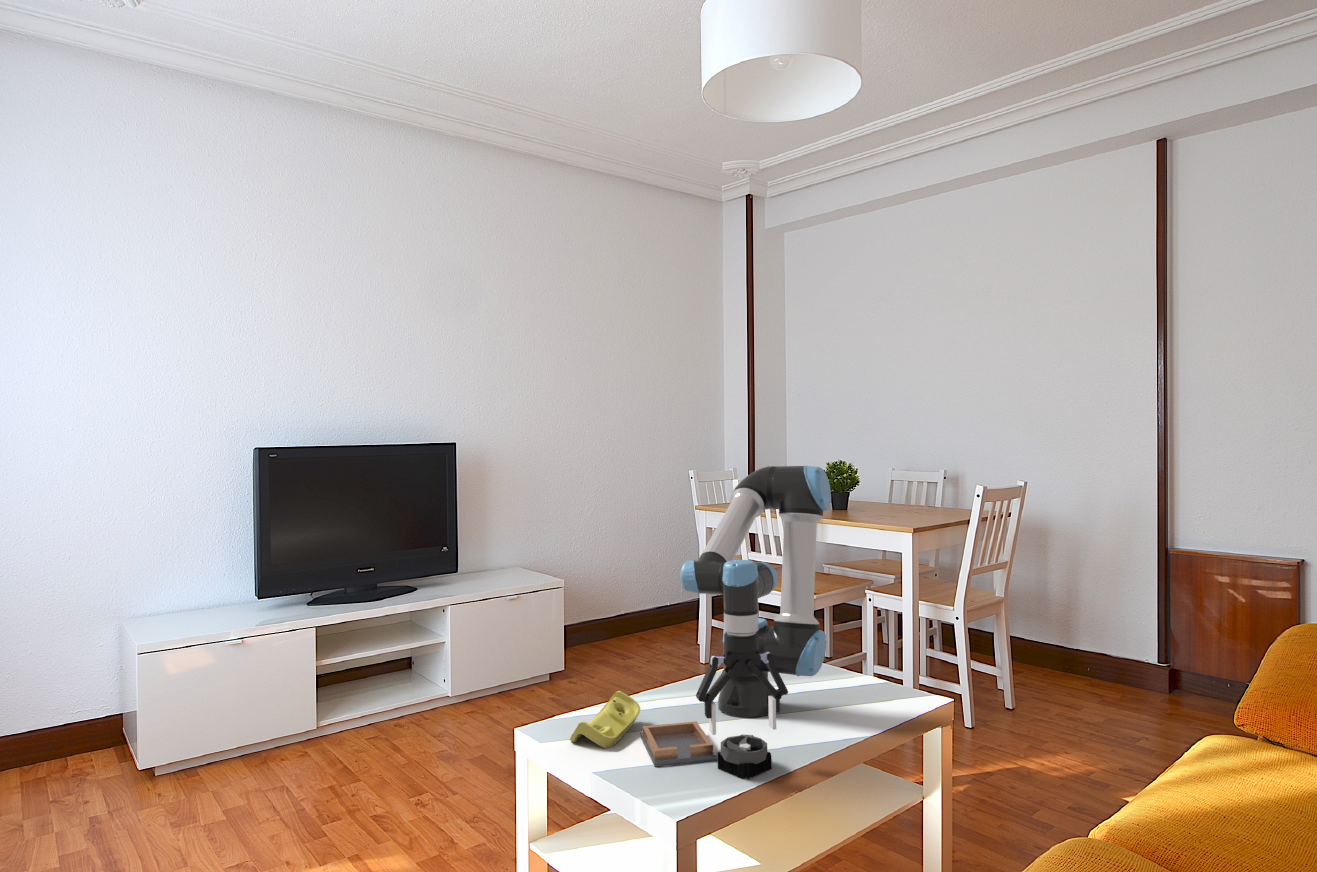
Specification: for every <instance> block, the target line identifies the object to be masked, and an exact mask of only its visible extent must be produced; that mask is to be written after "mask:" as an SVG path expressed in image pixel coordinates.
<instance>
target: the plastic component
mask: <svg viewBox="0 0 1317 872" xmlns="http://www.w3.org/2000/svg"><path fill="white" fill-rule="evenodd" d="M640 714H641V706H640V704H639V703H638V701H636V700H635V699H634V698H633V697H631V696H630V695H628V694H626V693H625V692H624V691H621V690H617V691H616V692H614V693H613V694H612V696H611V697H610V698H609V700H608V701H607V703H605V705H604V706H603V707H602V708H601V710H600V711H599V712H598V713H597V714H596V715H595V716H594V718H592V719H591V720H590V721H589V722H586V721H581V722H579V723H578V725H577V726H576V728H575V729H574V731H573V733H572V734H571V736H570V738H569V741H571V742H572V743H575V742H576V741H578V740H579V739H580V738H581V737H582V736H585V738H587V739H589V740H590V741H592V742H593V743H595V744H596V745H598V746H599V747H601V748H605V749H610V748H611V747H613V746H614V745H615V744H616V743H617V742H618V741H619V740H620V739H622V737H623V736H624V735H625V734H626V733H628V731H629V730H630V728H631V727H632V725H633V724H634V723H635V722H636V720H637V719H638V716H639V715H640Z"/></svg>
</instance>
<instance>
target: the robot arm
mask: <svg viewBox="0 0 1317 872" xmlns="http://www.w3.org/2000/svg"><path fill="white" fill-rule="evenodd" d="M825 471H826V470H824V469H823V468H821V467H820V466H811V465H793V466H792V465H789V466H788V465H785V466H784V465H783V466H779V465H778V466H775V465H771V466H764V467H762V468H759V469H757V470H755V471H752V472H751V473H749V474H748V475H747V476H745V478H743V479H742V480H741V481H740V482H739V483H738V484H737V485H736V486H735V487H734V489H733V491H732V492H731V493H730V496H729V506H728V507H727V509H726V510H725V512H724V514H723V515H722V518H721V519H720V522H719V523H718V524H717V526H716V528H715V529H714V532H713V533H712V535H711V536H710V538H709V540H708V542H707V544H706V546H705V548H703V549H704V550H702V553H701V554H700V556H699V557H698V560H695V559H692V560H687V561H685V562H684V563H683V564H682V566H681V569H680V573H679V576H680V577H679V578H680V583H681V586H682V589H683V590H684V591H686V592H689V593H694V594H700V595H701V594H703V595H704V594H705V595H720V596H723V633H722V634H723V636H722V647H723V650H722V653H723V656H716V655H715V654H711V655H710V656H709V665H708V667H707V669H706V672H705V674H704V677H703V678H702V680H701V683H700V685H699V687H698V690H697V692H696V694H695V697H696V699H697V700H698V701H699V702H701V703H702V702H703V703H704V716H705V717H706V719H708V722H709V723H708V725H709V727H708V728H709V729H708V730H709V732H710V733H711V735H712V736H714V735H715V736H716V735H717V719H716V717H717V716H716V714H717V712H716V711H717V709H716V703H715V702H714V700H715V699H716V698H717V696H718V698H717V704H718V705H717V707H718V710H719V711H720V712H721V713H723V714H724V715H725V714H726V715H729V716H733V717H738V718H757V717H763V716H764V717H765V716H767V715H768V726H769V727H770V729H772V730H773V731H774V730H777V713H780V711H781V701H780V700H781V699H782V697H783V696H787V695H788V693H789V691H788V688H787V687H786V685H785V684H786V683H785V682H784V681H783V679H782V677H781V675H782V674H783V675H793V676H797V677H800V676H801V677H814V676H816V675H817V674H818V673H819V672H820V670H821V668H822V667H823V663H824V661H825V656H826V652H827V651H826V650H827V636H826V635H827V634H826V633H825V632H824V631H823V630H822V629H820V622H819V621H818V620H817V619H816V618H815V615H814V611H815V607H814V606H815V581H816V558H817V557H816V556H817V553H816V552H817V533H818V532H817V530H818V529H817V528H818V524H819V522H821V520H823V519H824V511H825V512H826V511H828V510H829V509H830V508H831V503H832V493H831V486H830V481H829V478H828V475H827V473H826V472H825ZM766 510H778V516H779V517H780V519H782V521H783V539H782V540H783V541H782V543H783V544H782V545H783V546H782V565H781V586H780V587H781V590H780V607H779V608H780V610H779V611H780V613H779V615H777V616H776V617H775V618H774V619H773V626H772V625H768V621H767V619H765V618H762V617H759V599H760V598H762V597H765V596H767V595H769V594H771V592H773V591H774V590H775V589H776V588H777V585H778V581H779V578H778V576H779V575H778V573H777V571H776V569H775V568H774V567H773V565H771V564H770V563H768V562H765V561H764V562H763V561H759V562H755V561H754V560H749V559H747V560H746V559H735V557H736V556H737V555H738V552H739V550H740V548H741V546H742V544H743V542H744V540H745V538H746V536H747V534H748V533H749V531H750V530H751V527H752V525H753V523H754V522H755V519H756V518H758V517H760V516H761V515H762V514H763V513H764V511H766ZM721 664H723V669H722V671H721V674H719V675H718V677H717V679H716V680H715V682H714V683H713V685H712V682H713V681H714V679H715V676H716V674H717V671H718V668H719V667H721ZM769 673H770V674H771V676H772V678H773V680H774V683H775V684H776V686H777V689H776V688H775V687H774V686H773V684H772V683H771V682H770V681H769Z"/></svg>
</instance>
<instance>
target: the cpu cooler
mask: <svg viewBox="0 0 1317 872" xmlns="http://www.w3.org/2000/svg"><path fill="white" fill-rule="evenodd" d="M719 749H720V751H718V752H717V754H716V757H717V769H718V770H720V771H722V772H724V773H726V774H729V775H732V776H734V777H737V778H739V779H741V780H745V779H747V780H750V779H752V778H754V777H757V776H759V775H761V774H764V773H766V772H768V771H770V770H772V768H773V766H772V764H773V762H772V752H770V751H768V743H767V742H766V741H765V740H764V739H762V738H761V737H758V736H755V735H753V734H740V735H734V736H727V737H726V738H725V739H723V740H722V741H721V742H720V748H719Z"/></svg>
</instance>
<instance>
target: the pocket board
mask: <svg viewBox="0 0 1317 872" xmlns="http://www.w3.org/2000/svg"><path fill="white" fill-rule="evenodd" d="M639 735H640V739H641V741H642V744H643V746H644V748H645V749H646V751H647V754H648V756H649V758H650V760H651V763H652V764H653V766H654V768H656V767H666V766H676V765H685V764H686V765H687V764H695V763H703V762H712V761H713V762H715V761H717V754H716V753H715V751H714V744H713V742H712V741H711V739H710V738H709V737H708V736H707V734H706V732H705V731H704V730H703V729H702V727H701V725H700V724H699V723H698V721H686V722H675V723H665V724H653V725H643V726H642V731H640V732H639Z"/></svg>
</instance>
